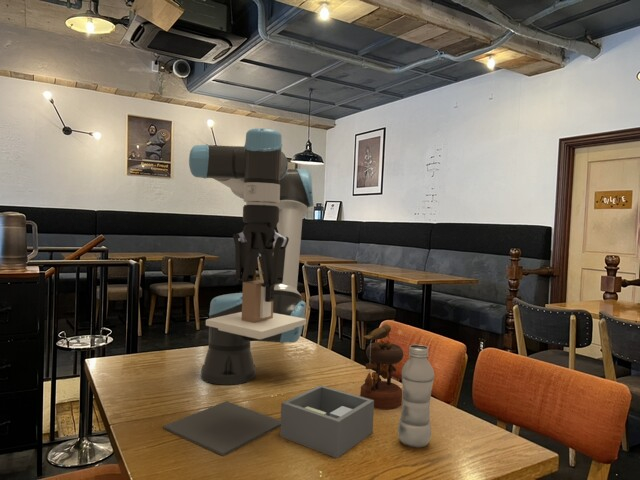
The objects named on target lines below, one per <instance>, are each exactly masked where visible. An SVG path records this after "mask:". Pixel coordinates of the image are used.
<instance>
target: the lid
mask: <svg viewBox="0 0 640 480" xmlns="http://www.w3.org/2000/svg"><path fill="white" fill-rule="evenodd" d="M254 280H255V281H248V282H242V292H241V293H242V312H239V313H234V314H230V315H225V316H220V317H216V318H211V319H209V318H207V319H205V326H206V327H209V326H211V327H215V328H218V330H220V331H225V332H229V333H233V334H238V335H242V336H247V337H251V338H256V339H260V340H261V339H264V338H267V337H270V336H274V335H277V334H280V333H283V332H287V331H290V330H293V329H295V328H296V327H299V326H303V327H304V326H305V325H307V318H305V319H304V318H299V317H293V316H288V315H282V314H277V313H273V301H271V316H269V317H265V318H260V300H261V286H262V284H264V279H257V280H256V279H254Z"/></svg>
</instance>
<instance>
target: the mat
mask: <svg viewBox="0 0 640 480" xmlns="http://www.w3.org/2000/svg"><path fill="white" fill-rule="evenodd" d="M280 426H281V419H277V418H275V417H272V416H269V415H266V414H263V413H262V412H261V413H260V412H259V411H255V410H252V409H250V408H246V407H244V406H242V405H238V404H237V403H233V402H230V401H228V400H226V401H223V402H220V403H218V404H216V405H213V406H210V407H207V408H206V409H203V410H200V411H198V412H195V413H192V414H191V415H187V416H185V417H183V418H180V419H178V420H174V421H172V422H170V423H167V424H164V425H162V430H166V431H167V432H169V433H173V434H175V436H176V435H177V436H178V437H180V438H183V439H185V440H187V441H189V442H192V443H194V444H196V445H198V446H200V447H203V448H205V449H207V450H209V451H211V452H213V453H215V454H217V455H220V456H222V457H224V456H225V455H228V454H230V453H231V452H232V453H233V450H234V451H236V450H237V449H239V448H241V447H243V446H245V445H246V444H249V443H251V442H253V441H255V440H256V439H258V438H261V437H262V436H265V435H267V434H268V433H270V432H272V431H274V430H276V429H278V428H280Z"/></svg>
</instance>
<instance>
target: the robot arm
mask: <svg viewBox="0 0 640 480" xmlns="http://www.w3.org/2000/svg"><path fill="white" fill-rule="evenodd" d="M282 142H283V141H282V134H281V132H280V131H278V130H275V129H272V128H259V127H257V128H256V127H255V128H251V129H249V130H247V132H246V133H245V142H244V145H243V146H241V145H240V146H239V145H237V146H235V145H217V144H216V145H215V144H214V145H213V144H212V145H210V144H207V143H206V144H200V145H199V144H198V145H193V146H192V147H191V149H190V151H189V157H188V165H189V170H190V171H189V172H190V173H191V175H192V176H193V177H195V178H200V179H201V178H202V179H213V180H215V181H217V182H219V183H221V184H223V185H224V186H225V187H228V188H229V189H230V191H231V192H232V193H233V194H234V195H235V196H237V197H239V198H240V199H242V200H243V202H244V203H245V204H244V205H243V207H242V221H243V223H244V227H243V228H242V231H241V232H239V233H234V234H232V238H233V241H234V246H235V252H234V254H235V255H234V256H235V279H236V280H239V281H241V282H242V283H243V282H248V281H255V280H256V279H255V276H256V275H255V273H256V268H257V263H258V258H259V257H258V256H259V254H260V256H261V257H260V259H261V269H262V276H263V277H262V278H263V279H262V280H264V284H262V286H261V300H260V318H265V317H269V316H271V301H273V313H277V314H282V315H288V316H293V317H299V318H304V319H306V312H307V311H306V310H307V303H306V302H305V301H304V300H302V294H301V293H300V292H299V291H298V280H299V279H298V278H299V277H298V276H299V266H300V255H301V253H300V252H301V244H302V243H301V241H302V229H303V228H302V227H303V218H304V216H305V215H306V214H308V212H309V208H311V207H314V196H313V195H314V193H313V183H312V174H311V172H310V170H308V169H302V168H301V169H300V168H298V167H297V168H289V163H288V159H287V158H288V157H287V156H286V154H285V153H284V152H283V151H282V148H283V143H282ZM239 312H242V292H235V293H227V294H222V295H218V296H215V297H213V298H212V299H211V301H210V305H209V313H208V316H209V317H208V319H211V318H216V317H220V316H225V315H230V314H234V313H239ZM303 328H304V325H303V326H299V327H296V328H295V329H293V330H290V331H287V332H283V333H280V334H277V335H274V336H270V337H267V338H264V339H261V340H260V339H256V338H251V337H247V336H242V335H238V334H233V333H229V332H225V331H220V330H218V328H215V327H211V326H208V349H207V353H206V356H205V359H204V362H203V364H202V366H201V370H200V373H201V374H200V377H201V380H202V381H204V382H207V383H209V384H213V385H225V386H226V385H228V386H229V385H230V386H231V385H238V384H239V385H240V384H244V383H247V382H250V381H252V380H254V379H255V377H256V373H257V372H256V370H257V369H256V368H257V367H256V365H255V364H254V359H253V354H252V351H251V342H267V343H270V342H271V343H280V344H284V343H286V344H287V343H289V344H291V343H296V342H298V340H299V339H300V338H301V335H302V332H303Z"/></svg>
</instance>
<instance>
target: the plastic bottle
mask: <svg viewBox="0 0 640 480" xmlns="http://www.w3.org/2000/svg"><path fill="white" fill-rule="evenodd" d="M408 351H409V352H408V356H409V358H408V359H407V361H405V363H404V364H403V366H402V369H401V383H402V384H401V385H402V405H401V406H402V407H401V413H400V419H399V421H398V427H397V434H398V435H397V436H398V439H399V440H400V442H401V443H402V444H403V445H405V446H408V447H411V448H423V447H426V446H427V445H428V444H429V443H430V441H431V437H432V427H431V418H430V417H431V416H430V412H431V411H430V410H431V409H430V405H431V396H432V390H433V385H434V380H435V371H434V368H433V366H432V365H431V363H430V361H429V360H428V358H429V347H428V346H427V345H422V344H411V345H409V350H408Z"/></svg>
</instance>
